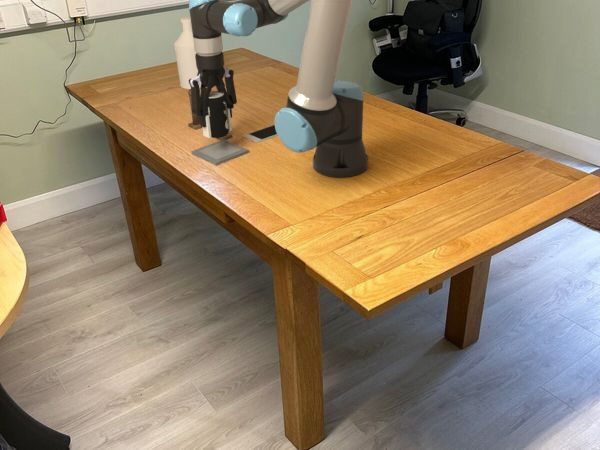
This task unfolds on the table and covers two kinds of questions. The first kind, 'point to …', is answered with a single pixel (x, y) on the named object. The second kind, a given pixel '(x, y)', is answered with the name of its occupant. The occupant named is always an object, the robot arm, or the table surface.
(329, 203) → the table surface
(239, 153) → the slate coaster
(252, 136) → the smartphone
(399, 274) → the table surface
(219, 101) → the beverage can
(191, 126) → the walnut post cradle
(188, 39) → the bottle
